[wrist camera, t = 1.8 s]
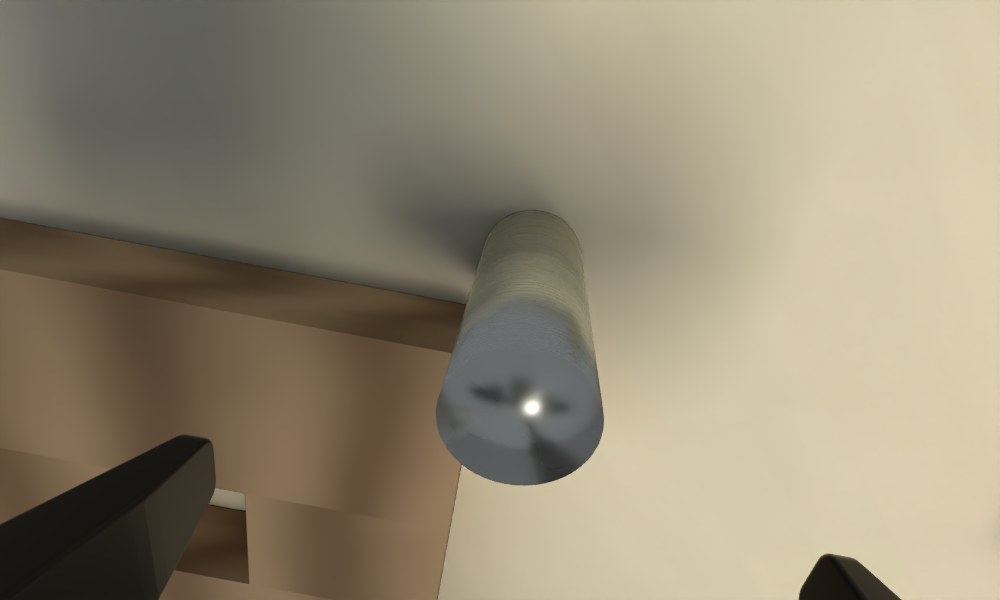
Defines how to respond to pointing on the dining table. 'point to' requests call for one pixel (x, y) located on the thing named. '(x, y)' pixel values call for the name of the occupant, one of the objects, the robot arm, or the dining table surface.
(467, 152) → the dining table surface
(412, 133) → the dining table surface
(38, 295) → the socket block
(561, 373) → the peg
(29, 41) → the dining table surface
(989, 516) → the dining table surface
